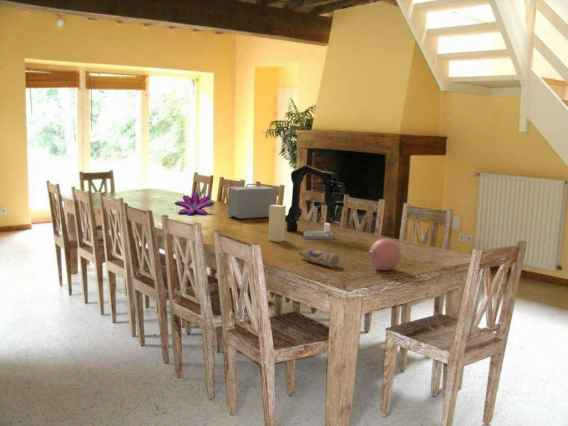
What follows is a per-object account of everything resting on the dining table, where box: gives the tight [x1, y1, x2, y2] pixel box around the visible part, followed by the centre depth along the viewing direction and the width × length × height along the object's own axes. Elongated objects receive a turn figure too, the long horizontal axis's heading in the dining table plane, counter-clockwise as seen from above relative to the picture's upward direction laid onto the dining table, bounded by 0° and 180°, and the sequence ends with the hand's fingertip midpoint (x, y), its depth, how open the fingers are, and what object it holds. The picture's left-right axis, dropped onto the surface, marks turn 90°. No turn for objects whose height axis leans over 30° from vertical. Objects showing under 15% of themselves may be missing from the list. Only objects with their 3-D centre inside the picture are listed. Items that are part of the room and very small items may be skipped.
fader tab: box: [323, 222, 331, 233], centre depth 367 cm, size 4×5×6 cm
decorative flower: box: [174, 191, 215, 216], centre depth 446 cm, size 31×31×10 cm
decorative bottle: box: [298, 248, 340, 269], centre depth 298 cm, size 26×8×7 cm, turn 40°
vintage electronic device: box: [227, 183, 278, 221], centre depth 433 cm, size 32×18×25 cm, turn 121°
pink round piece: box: [366, 238, 402, 271], centre depth 285 cm, size 15×20×15 cm
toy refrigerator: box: [267, 204, 287, 243], centre depth 350 cm, size 8×7×21 cm
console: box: [302, 230, 335, 240], centre depth 367 cm, size 18×16×3 cm
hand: (327, 217), depth 366 cm, fingers open, 9 cm apart
